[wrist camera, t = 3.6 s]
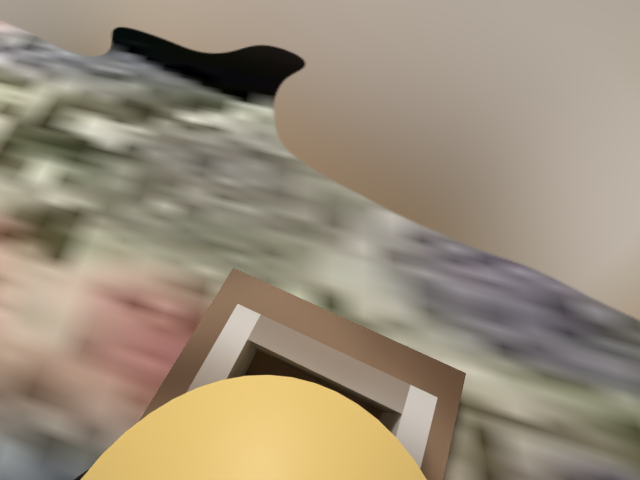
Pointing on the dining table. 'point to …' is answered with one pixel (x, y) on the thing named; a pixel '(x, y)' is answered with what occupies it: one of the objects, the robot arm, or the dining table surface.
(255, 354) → the stand
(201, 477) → the post
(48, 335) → the dining table surface
